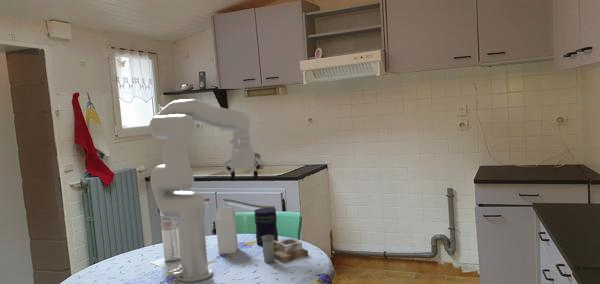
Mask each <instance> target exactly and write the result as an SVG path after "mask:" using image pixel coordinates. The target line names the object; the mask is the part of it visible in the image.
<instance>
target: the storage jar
mask: <svg viewBox="0 0 600 284" xmlns="http://www.w3.org/2000/svg"><path fill="white" fill-rule="evenodd" d="M276 211H277V209H276V208H275V207H260V208H256V209H255V210H254V211H253V213H254V224H255V228H256V229H255V230H256V231H255V239H256V245H257V246H259V247H263V241H262V236H264V235H273V237H274V240H276V241H279V240H278V239H279V233H278V229H277V228H278V227H277V217H278V216H277V212H276Z"/></svg>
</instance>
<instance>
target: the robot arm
mask: <svg viewBox="0 0 600 284" xmlns="http://www.w3.org/2000/svg"><path fill="white" fill-rule="evenodd" d="M195 123H196V124H198V125H203V126H205V127H207V128H208V127H209V128H217V129H218V130H219V131H220V132H222V133H232V139H231V140H229V144H232V145H231V149H230V159H228V160H226V161H225V162H224V163H223V165H224V166H225V169H227V171H228V172H229V173H230V178H231V180H232V182H235V181H236V171H235V169H246V168H247V169H248V168H252V169H253V180H254V181H257V178H258V175H259V174H258V170H259V169H260V168H261V166H262V164H263V162H264V161H263V159H260V158H258V157H256V156H255V153H254V147H253V144H251V133H250V128H251V127H250V126H251V120H250V117H249V115H248V114H246V113H245V112H243V111H240V110H237V109H231V108H230V109H229V108H225V107H220V106H215V105H212V104H208V103H207V102H205V101H202V100H199V99H196V98H189V99H178V100H177V99H175V100H173V101H171V102H170V103H168V104H167V105H165V106H164V107H163V108H162V109H160V111H158V113H156V114H155V115H154V116H153V117H152V118H151V120H150V121H149V125H148V130H149V133H150V134H151V136H152V137H153V138H155V139H158V140H165V139H166V141H165V144H164V146H163V148H162V153H161V154H162V160H163V164H160V165H157V166H155V167H154V168H153V169H152V171H151V174H150V178H149V180H150V186H151V190H152V192H153V193H152V194H153V196H154V199H155V202H156V204H157V205H156V206H157V208H158V210H159V213H160V212H161V213H162V214H163V215H164V216H168V217H177V218H181V221H180V222H179V224H178V237H179V248H180V264H178V267H177V268H176V269H171V270H168V271H167V274H168V277H172V276H174V277H177V279H178V280H179V281H180V282H184V283H185V282H186V283H191V282H193V283H194V282H199V281H204V280H205V279H208V278H209V277H211V276H212V275H213V273H214V271H213V269H212V268H211V267H209V263H208V253H207V242H206V234H205V233H206V231H205V211H206V210H205V209H206V200H205V197H204V195H202V194H201V193H199V192H197V191H192V190H191V191H190V189H192V188H193V186H194V184H195V177H194V173H193V170H192V167H191V163H190V159H189V155H188V145H189V142H190V139H191V136H192V134H193V132H194V130H195ZM256 162H257V163H258V165H256ZM229 164H230V165H231V166H230V165H229Z"/></svg>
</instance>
